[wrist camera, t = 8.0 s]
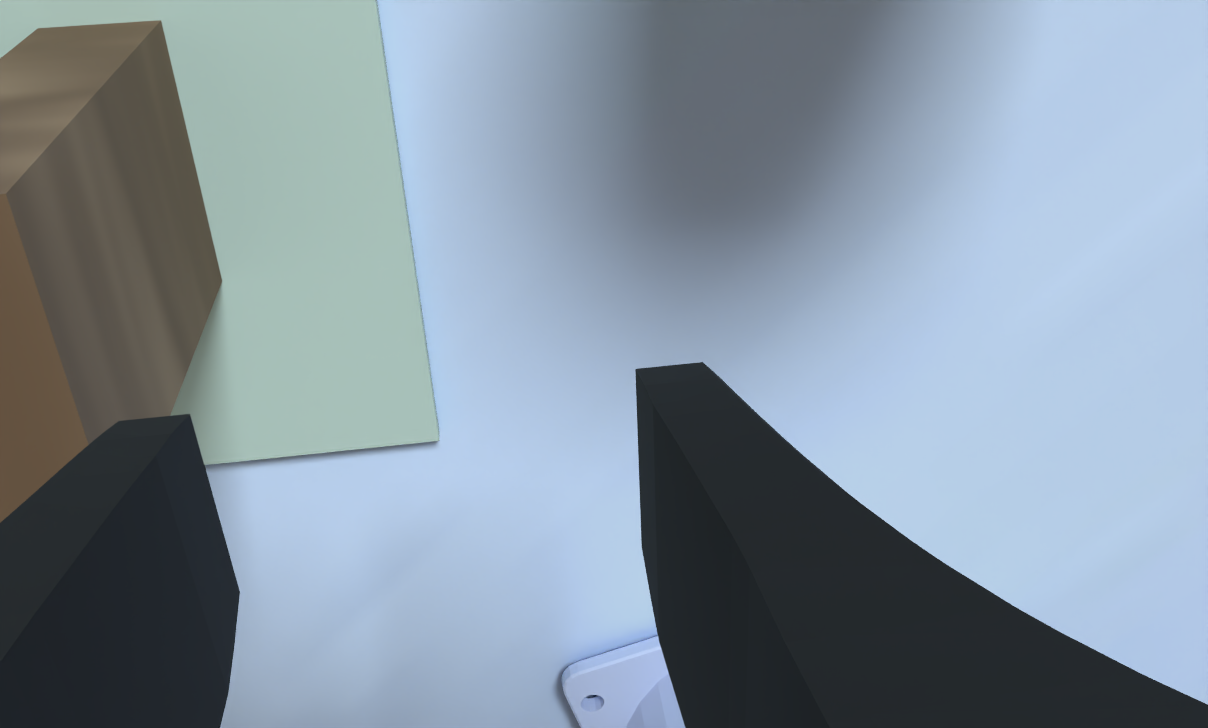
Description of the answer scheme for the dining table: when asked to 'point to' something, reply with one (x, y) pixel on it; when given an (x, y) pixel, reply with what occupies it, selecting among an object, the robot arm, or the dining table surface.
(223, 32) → the mat
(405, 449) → the dining table surface
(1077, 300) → the dining table surface
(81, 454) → the robot arm
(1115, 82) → the dining table surface
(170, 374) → the domino
